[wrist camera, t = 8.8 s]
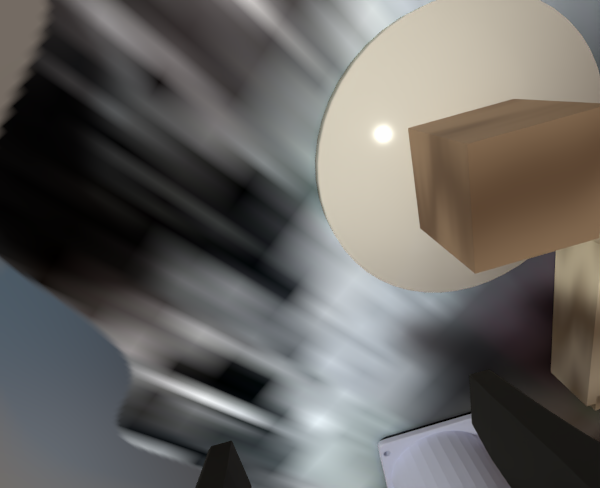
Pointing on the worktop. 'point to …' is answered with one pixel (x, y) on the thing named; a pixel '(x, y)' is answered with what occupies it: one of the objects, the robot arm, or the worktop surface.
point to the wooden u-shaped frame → (577, 321)
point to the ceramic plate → (429, 107)
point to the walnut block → (509, 180)
